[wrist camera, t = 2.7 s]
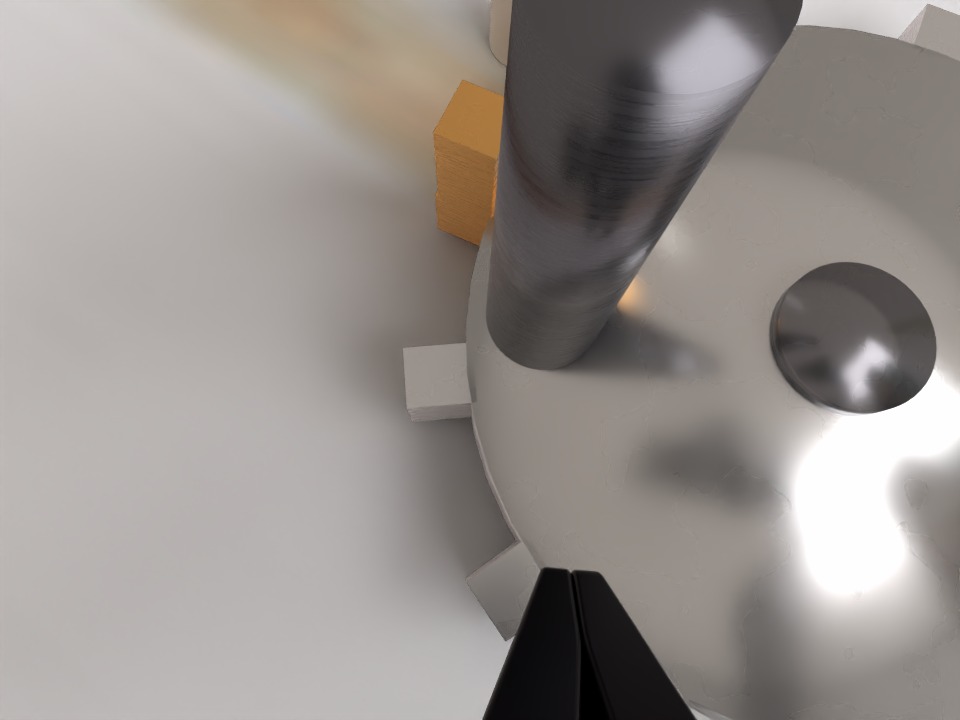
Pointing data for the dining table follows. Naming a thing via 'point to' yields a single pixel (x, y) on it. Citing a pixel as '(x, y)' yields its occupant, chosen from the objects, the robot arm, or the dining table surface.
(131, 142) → the dining table surface
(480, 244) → the sprocket
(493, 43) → the pointer post
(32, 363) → the dining table surface
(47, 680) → the dining table surface
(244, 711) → the dining table surface
